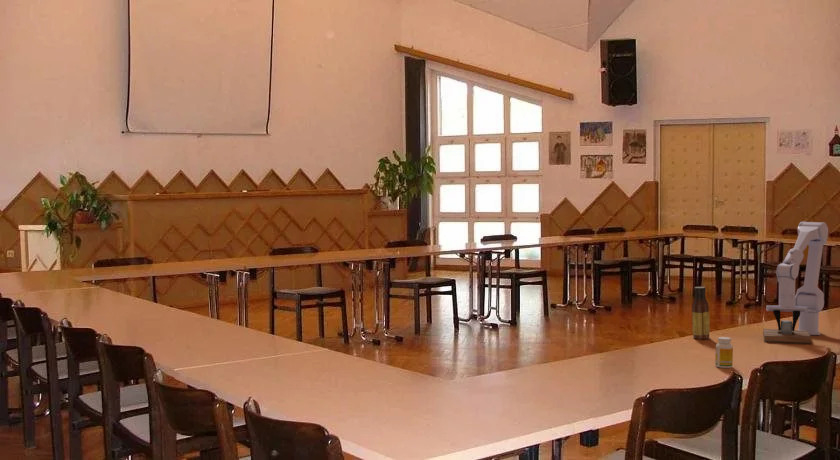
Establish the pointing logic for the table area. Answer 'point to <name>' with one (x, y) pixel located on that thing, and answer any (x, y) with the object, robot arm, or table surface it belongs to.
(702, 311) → the sauce bottle
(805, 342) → the walnut socket block
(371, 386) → the table surface
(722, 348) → the supplement bottle
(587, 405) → the table surface
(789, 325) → the slate pin
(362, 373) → the table surface
